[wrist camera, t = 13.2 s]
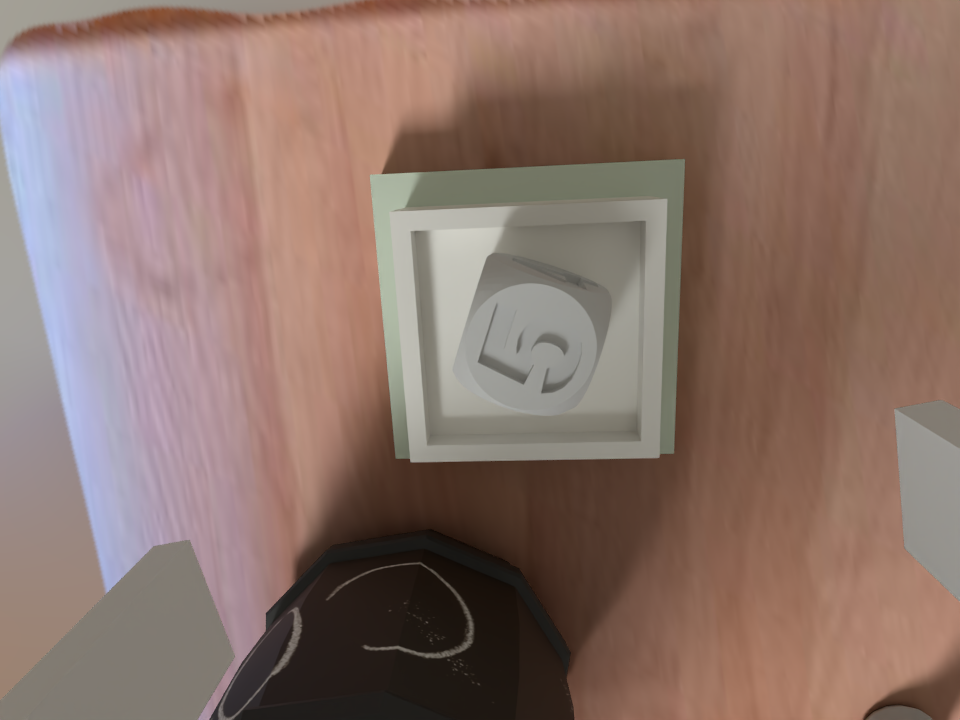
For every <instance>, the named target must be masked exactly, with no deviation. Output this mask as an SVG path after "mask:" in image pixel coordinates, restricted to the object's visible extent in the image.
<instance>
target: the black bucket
mask: <svg viewBox="0 0 960 720" xmlns="http://www.w3.org/2000/svg"><path fill="white" fill-rule="evenodd" d="M570 654H571V652H570V650H569V648H568V646H567V644H566V642H565V641H564V639H563V638H562V636H561V634H560V633H559V631H558V630H557V628H556V626H555V625H554V623H553V622H552V620H551V619H550V617H549V615H548V614H547V612H546V611H545V609H544V608H543V606H542V604H541V603H540V601H539V600H538V598H537V596H536V595H535V593H534V592H533V590H532V589H531V587H530V585H529V584H528V582H527V581H526V579H525V577H524V576H523V574H522V573H521V571H520V570H519V568H516V567H514V566H512V565H510V563H509V562H507V561H505V560H502V559H500V558H498V557H495V556H493V555H490V554H488V553H486V552H483V551H481V550H479V549H476V548H474V547H472V546H469V545H467V544H465V543H462V542H460V541H457V540H455V539H453V538H450V537H448V536H446V535H443V534H441V533H439V532H436V531H434V530H432V529H430V530H423V531H417V532H411V533H405V534H398V535H392V536H386V537H380V538H373V539H367V540H361V541H355V542H349V543H343V544H337V545H333V546H331V547H330V548H329V549H328V550H326V551H325V552H324V553H323V554H322V556H321V557H320V558H319V559H318V560H317V561H316V562H315V563H314V564H313V565H312V566H311V567H310V568H309V569H308V570H307V571H306V572H305V573H304V574H303V575H302V576H301V577H300V578H299V579H298V580H297V582H296V583H295V584H294V585H293V586H292V587H291V588H290V589H289V590H288V591H287V592H286V593H285V594H284V595H283V596H282V597H281V598H280V599H279V600H278V601H277V602H276V603H275V604H274V605H273V606H272V608H271V609H270V610H269V611H268V612H267V613H266V632H265V633H264V634H263V636H262V637H261V638H260V640H259V641H258V642H257V643H256V645H255V646H254V647H253V649H252V650H251V651H250V653H249V654H248V655H247V657H246V658H245V659H244V661H243V662H242V663H241V665H240V667H239V669H238V670H237V672H236V674H235V676H234V677H233V679H232V681H231V683H230V684H229V686H228V688H227V690H226V691H225V693H224V695H223V697H222V698H221V700H220V702H219V704H218V705H217V707H216V709H215V711H214V712H213V714H212V716H211V718H210V720H574V710H573V704H572V700H571V695H570V691H569V687H568V683H567V679H566V678H567V672H568V666H569V660H570Z"/></svg>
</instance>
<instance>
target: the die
mask: <svg viewBox="0 0 960 720" xmlns="http://www.w3.org/2000/svg"><path fill="white" fill-rule="evenodd" d="M611 308H612V298H611V295H610V293H609V291H608V290H607V289H606V288H605V287H603V286H601V285H600V284H598V283H596V282H594V281H592V280H589V279H587V278H585V277H582V276H580V275H577V274H575V273H572V272H569V271H566V270H564V269H561V268H558V267H555V266H552V265H549V264H545V263H542V262H539V261H535V260H531V259H528V258H524V257H520V256H515V255H510V254H504V253H492V254H490V255H489V256H487V258H486V261H485V264H484V267H483V270H482V273H481V276H480V279H479V282H478V285H477V289H476V292H475V295H474V298H473V301H472V305H471V308H470V311H469V314H468V318H467V321H466V324H465V327H464V331H463V334H462V337H461V341H460V344H459V348H458V351H457V354H456V358H455V362H454V365H453V369H452V371H453V373H454V374H455V376H456V378H457V380H458V381H459V382H460V383H461V384H462V385H463V386H464V387H465V388H466V389H468V390H469V391H471V392H472V393H474V394H475V395H477V396H479V397H481V398H483V399H485V400H487V401H489V402H491V403H494V404H496V405H499V406H502V407H504V408H508V409H511V410H514V411H518V412H522V413H527V414H532V415H540V416H554V415H559V414H562V413H564V412H566V411H568V410H570V409H572V408H574V407H576V406H577V405H578V404H579V403H580V401H581V400H582V398H583V396H584V395H585V393H586V391H587V389H588V387H589V384H590V382H591V380H592V378H593V375H594V373H595V370H596V367H597V365H598V362H599V359H600V356H601V353H602V349H603V346H604V343H605V339H606V335H607V331H608V327H609V322H610V316H611Z"/></svg>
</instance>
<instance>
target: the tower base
mask: <svg viewBox="0 0 960 720" xmlns="http://www.w3.org/2000/svg"><path fill="white" fill-rule="evenodd" d="M684 174H685V159H673V160H654V161H634V162H614V163H594V164H575V165H555V166H535V167H515V168H496V169H476V170H456V171H436V172H417V173H397V174H377V175H370V183H371V194H372V205H373V215H374V226H375V237H376V248H377V259H378V270H379V281H380V292H381V303H382V314H383V325H384V336H385V347H386V358H387V369H388V380H389V391H390V402H391V413H392V424H393V435H394V446H395V457H396V459H410V462H461V461H518V460H574V459H630V458H659V457H660V454H674V440H675V413H676V387H677V360H678V333H679V307H680V280H681V254H682V227H683V200H684ZM492 253H504V254H510V255H515V256H520V257H524V258H528V259H531V260H535V261H539V262H542V263H545V264H549V265H552V266H555V267H558V268H561V269H564V270H566V271H569V272H572V273H575V274H577V275H580V276H582V277H585V278H587V279H589V280H592V281H594V282H596V283H598V284H600V285H601V286H603V287H605V288H606V289H607V290H608V291H609V293H610V295H611V298H612V308H611V316H610V322H609V327H608V331H607V335H606V339H605V343H604V346H603V349H602V353H601V356H600V359H599V362H598V365H597V367H596V370H595V373H594V375H593V378H592V380H591V382H590V384H589V387H588V389H587V391H586V393H585V395H584V396H583V398H582V400H581V401H580V403H579V404H578V405H577V406H576V407H574V408H572V409H570V410H568V411H566V412H564V413H562V414H559V415H554V416H540V415H532V414H527V413H522V412H518V411H514V410H511V409H508V408H504V407H502V406H499V405H496V404H494V403H491V402H489V401H487V400H485V399H483V398H481V397H479V396H477V395H475V394H474V393H472V392H471V391H469V390H468V389H466V388H465V387H464V386H463V385H462V384H461V383H460V382H459V381H458V380H457V378H456V376H455V374H454V373H453V371H452V369H453V365H454V362H455V358H456V354H457V351H458V348H459V344H460V341H461V337H462V334H463V331H464V327H465V324H466V321H467V318H468V314H469V311H470V308H471V305H472V301H473V298H474V295H475V292H476V289H477V285H478V282H479V279H480V276H481V273H482V270H483V267H484V264H485V261H486V258H487V256H489V255H490V254H492Z"/></svg>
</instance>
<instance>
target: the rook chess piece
mask: <svg viewBox="0 0 960 720" xmlns="http://www.w3.org/2000/svg"><path fill="white" fill-rule="evenodd" d="M865 720H932V718H931V717H930V716H928V715H927V714H925V713H924V712H922V711H921V710H919V709H915V708H912V707H908V706H903V705H892V706H885V707H883V708H880V709H878V710H876V711H874V712H873V713H871V714H870V715H869V716H868V717H867V718H866V719H865Z"/></svg>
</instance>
